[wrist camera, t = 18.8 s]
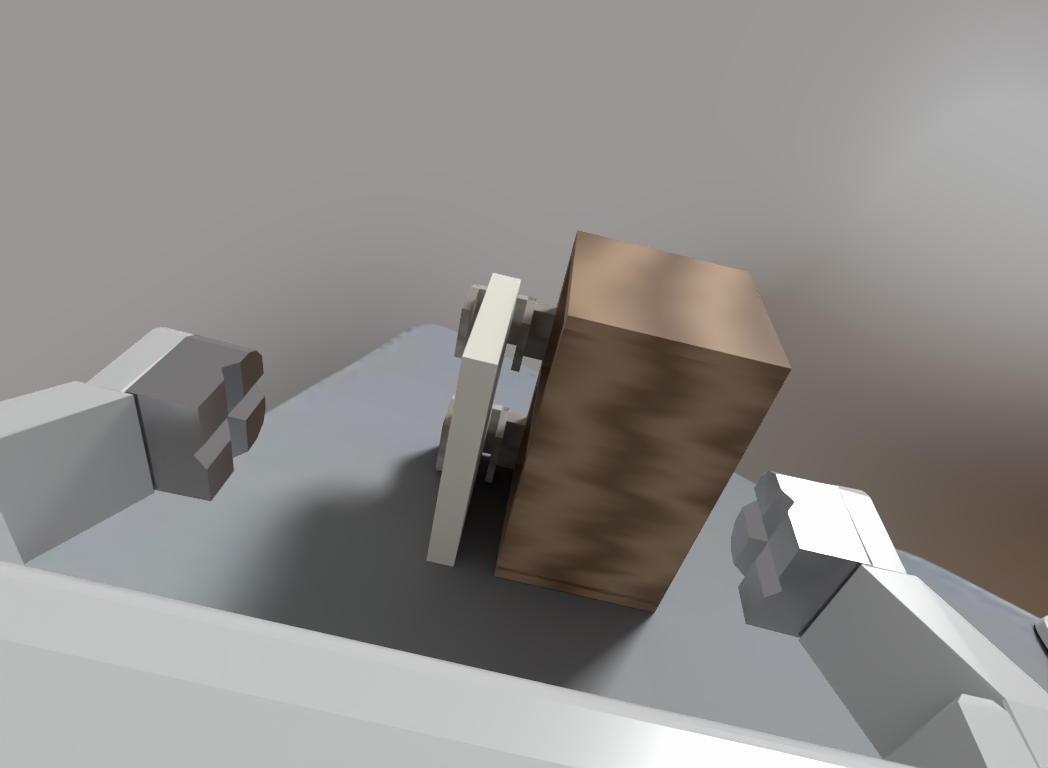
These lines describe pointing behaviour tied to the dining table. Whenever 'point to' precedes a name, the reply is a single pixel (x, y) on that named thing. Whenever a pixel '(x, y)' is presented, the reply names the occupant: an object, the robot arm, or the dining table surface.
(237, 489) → the dining table surface
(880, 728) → the robot arm
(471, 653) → the dining table surface
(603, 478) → the cabinet
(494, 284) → the door
